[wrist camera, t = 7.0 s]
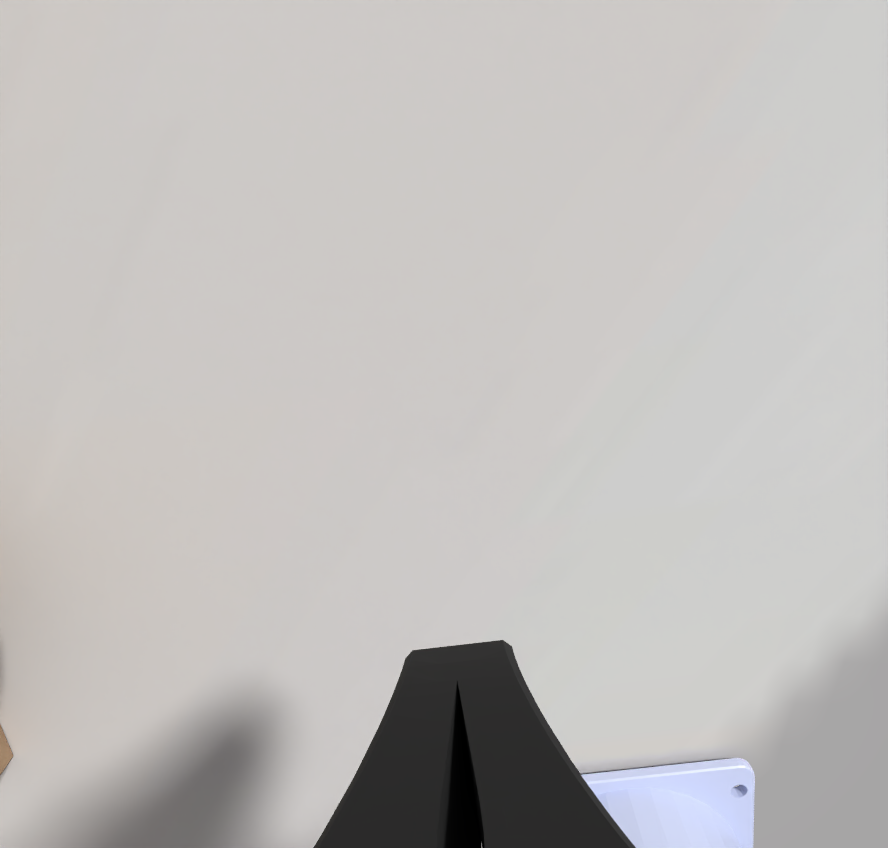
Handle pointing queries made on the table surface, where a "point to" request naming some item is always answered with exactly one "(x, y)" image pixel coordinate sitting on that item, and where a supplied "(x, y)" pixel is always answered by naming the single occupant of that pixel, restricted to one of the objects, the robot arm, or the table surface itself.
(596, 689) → the table surface
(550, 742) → the robot arm
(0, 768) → the walnut rail
